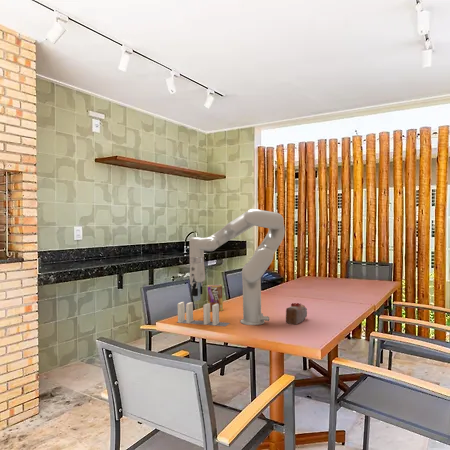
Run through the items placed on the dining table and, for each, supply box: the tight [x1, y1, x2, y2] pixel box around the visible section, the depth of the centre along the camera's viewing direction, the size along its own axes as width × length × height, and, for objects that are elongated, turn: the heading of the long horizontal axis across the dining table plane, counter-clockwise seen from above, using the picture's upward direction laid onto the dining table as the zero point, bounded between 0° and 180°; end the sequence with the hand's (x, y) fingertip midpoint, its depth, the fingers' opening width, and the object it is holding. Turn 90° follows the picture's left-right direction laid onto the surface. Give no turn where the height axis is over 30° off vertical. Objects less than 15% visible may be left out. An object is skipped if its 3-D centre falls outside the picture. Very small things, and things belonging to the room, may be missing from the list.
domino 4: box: [211, 304, 220, 326], centre depth 203 cm, size 2×5×10 cm, turn 159°
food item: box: [285, 302, 308, 326], centre depth 206 cm, size 14×8×10 cm, turn 149°
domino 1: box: [177, 301, 186, 324], centre depth 210 cm, size 2×5×10 cm, turn 159°
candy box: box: [206, 284, 224, 312], centre depth 236 cm, size 9×4×15 cm, turn 96°
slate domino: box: [193, 281, 202, 302], centre depth 206 cm, size 2×5×10 cm, turn 159°
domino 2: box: [185, 301, 194, 324], centre depth 208 cm, size 2×5×10 cm, turn 159°
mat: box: [175, 319, 231, 327], centre depth 206 cm, size 28×7×1 cm, turn 69°
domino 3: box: [202, 302, 211, 326], centre depth 204 cm, size 2×5×10 cm, turn 159°
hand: (197, 294), depth 206 cm, fingers closed on slate domino, 4 cm apart
